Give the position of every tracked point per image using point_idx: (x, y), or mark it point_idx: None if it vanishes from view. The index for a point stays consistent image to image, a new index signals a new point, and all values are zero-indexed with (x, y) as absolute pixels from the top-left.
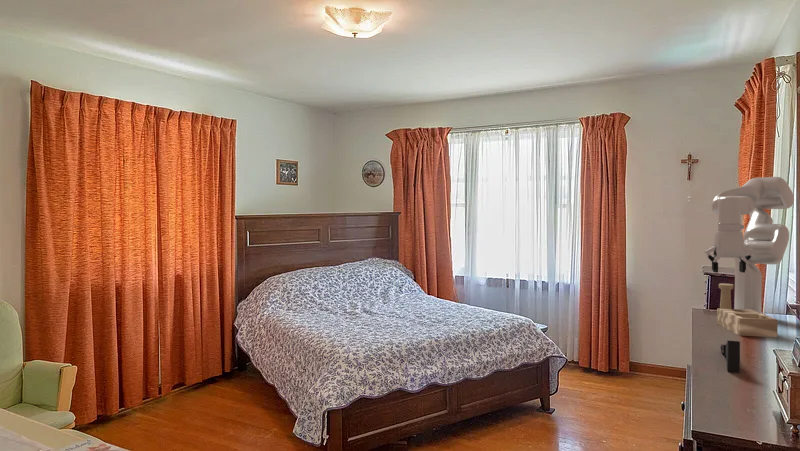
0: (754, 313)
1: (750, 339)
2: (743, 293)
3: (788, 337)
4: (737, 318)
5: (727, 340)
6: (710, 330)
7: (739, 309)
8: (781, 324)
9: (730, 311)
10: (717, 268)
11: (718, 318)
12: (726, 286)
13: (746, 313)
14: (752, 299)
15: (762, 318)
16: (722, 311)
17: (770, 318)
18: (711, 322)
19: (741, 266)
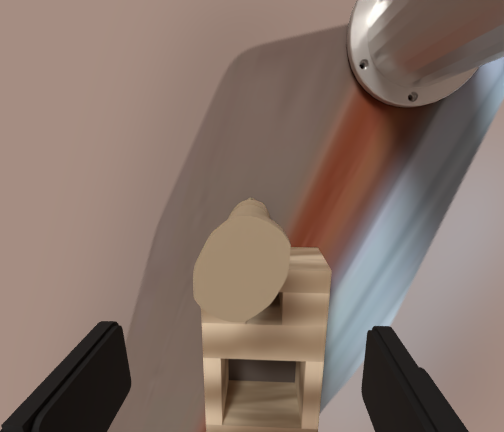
0: (299, 350)
1: None
2: (442, 32)
3: (336, 392)
4: (206, 420)
5: None
6: (160, 341)
7: None
8: (438, 213)
9: (226, 324)
10: (102, 427)
11: None
12: (224, 315)
13: (269, 354)
14: (461, 66)
15: (279, 428)
16: (202, 314)
17: (306, 425)
18: (202, 220)
19: (389, 428)
